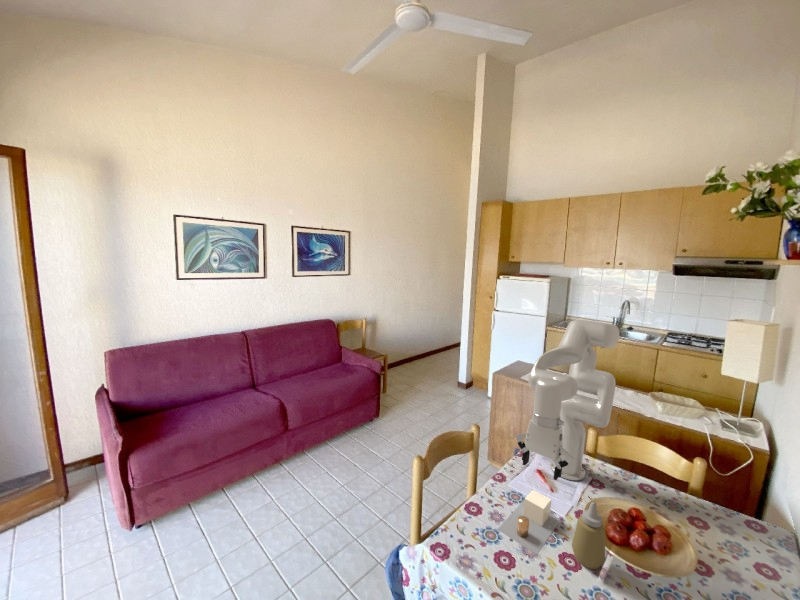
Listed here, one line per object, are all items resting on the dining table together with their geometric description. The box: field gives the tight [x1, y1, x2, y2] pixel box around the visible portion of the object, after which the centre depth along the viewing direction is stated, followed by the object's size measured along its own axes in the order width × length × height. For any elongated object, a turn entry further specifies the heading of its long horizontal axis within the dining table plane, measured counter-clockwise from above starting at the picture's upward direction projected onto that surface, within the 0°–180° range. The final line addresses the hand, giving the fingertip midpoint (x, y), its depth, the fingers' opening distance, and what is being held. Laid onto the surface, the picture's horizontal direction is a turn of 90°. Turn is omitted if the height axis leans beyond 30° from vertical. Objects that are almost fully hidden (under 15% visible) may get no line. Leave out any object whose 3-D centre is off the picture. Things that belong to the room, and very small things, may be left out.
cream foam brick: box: [523, 489, 552, 526], centre depth 109 cm, size 6×6×6 cm
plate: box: [497, 499, 561, 555], centre depth 106 cm, size 18×12×1 cm, turn 135°
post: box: [517, 516, 529, 538], centre depth 102 cm, size 3×3×4 cm
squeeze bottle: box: [571, 501, 606, 570], centre depth 93 cm, size 8×8×18 cm
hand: (540, 470), depth 107 cm, fingers open, 9 cm apart
